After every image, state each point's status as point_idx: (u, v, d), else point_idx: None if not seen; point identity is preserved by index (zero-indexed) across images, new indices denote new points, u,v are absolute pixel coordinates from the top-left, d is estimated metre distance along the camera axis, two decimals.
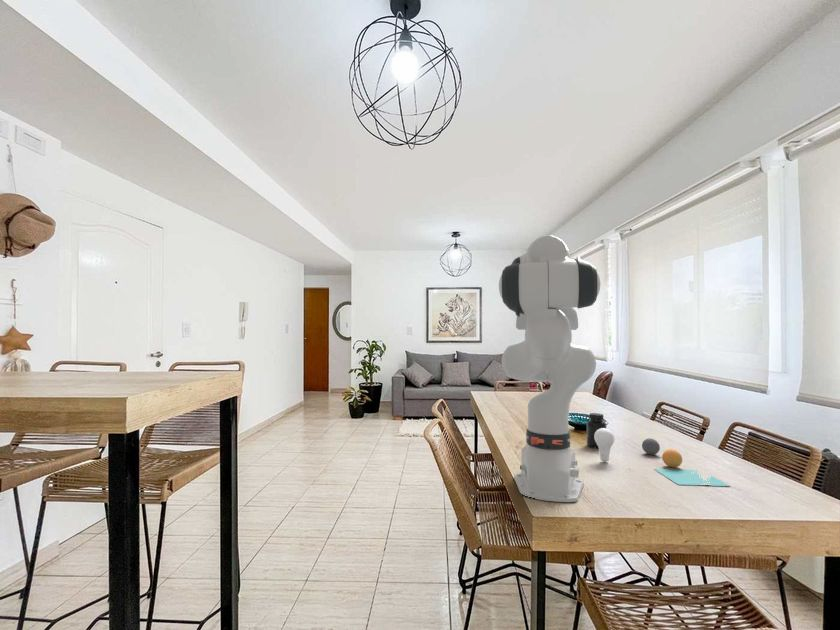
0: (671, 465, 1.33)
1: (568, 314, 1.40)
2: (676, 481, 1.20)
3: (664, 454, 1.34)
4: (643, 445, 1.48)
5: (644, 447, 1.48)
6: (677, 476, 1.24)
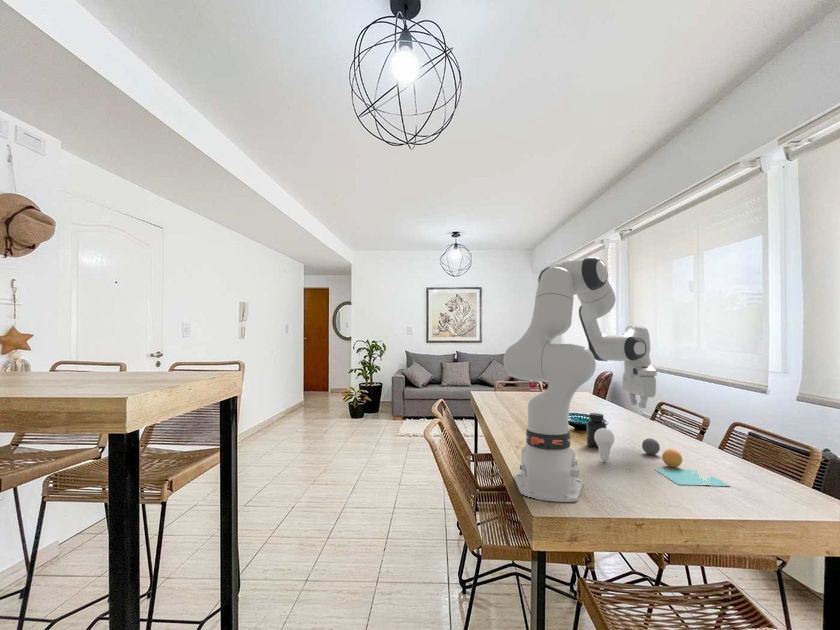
0: (671, 465, 1.33)
1: (641, 381, 1.52)
2: (676, 481, 1.20)
3: (664, 454, 1.34)
4: (643, 445, 1.48)
5: (644, 447, 1.48)
6: (677, 476, 1.24)
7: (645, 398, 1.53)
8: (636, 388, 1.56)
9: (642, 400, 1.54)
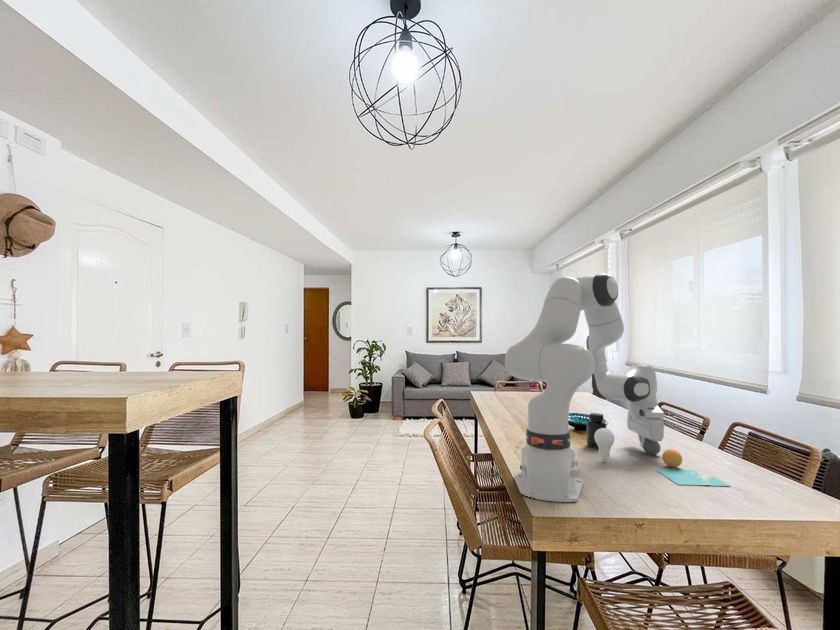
0: (671, 465, 1.33)
1: (648, 423, 1.46)
2: (676, 481, 1.20)
3: (664, 454, 1.34)
4: (644, 445, 1.48)
5: (645, 448, 1.48)
6: (677, 476, 1.24)
7: None
8: (642, 429, 1.50)
9: None
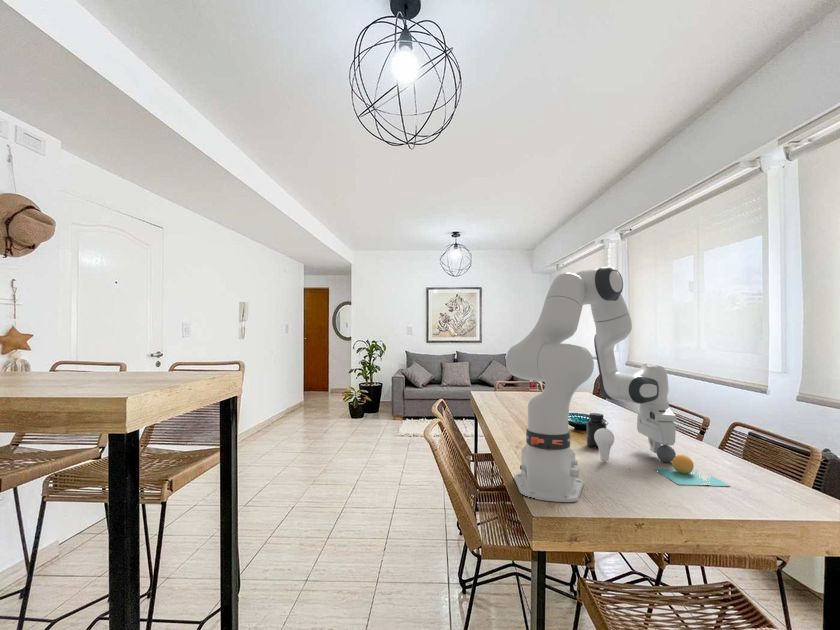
0: None
1: (659, 427, 1.39)
2: (676, 481, 1.20)
3: (675, 468, 1.27)
4: (657, 453, 1.40)
5: (656, 452, 1.40)
6: (677, 476, 1.24)
7: (659, 443, 1.43)
8: (652, 433, 1.43)
9: (656, 445, 1.44)
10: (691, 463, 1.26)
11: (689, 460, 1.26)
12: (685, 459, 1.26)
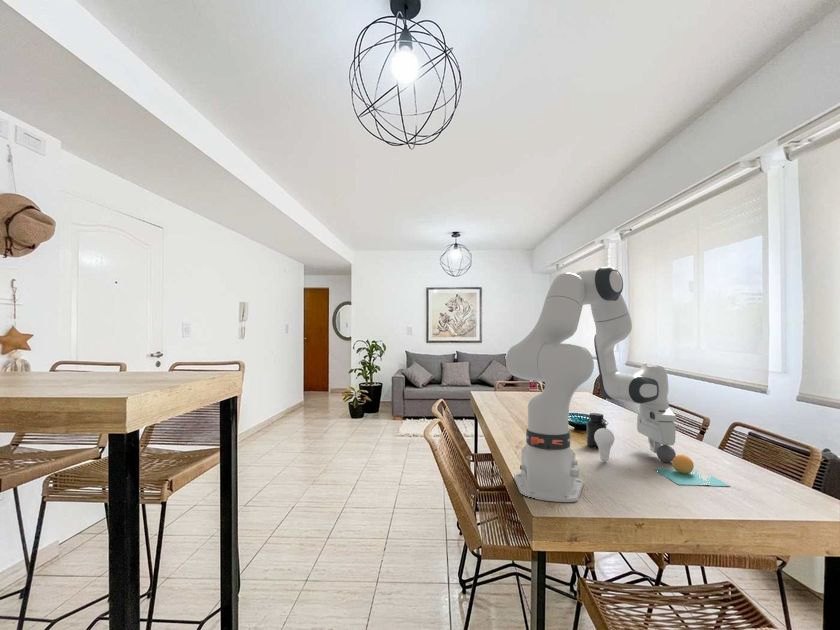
0: None
1: (659, 427, 1.39)
2: (676, 481, 1.20)
3: (675, 468, 1.27)
4: (657, 453, 1.40)
5: (656, 452, 1.40)
6: (677, 476, 1.24)
7: (659, 443, 1.43)
8: (652, 433, 1.43)
9: (656, 445, 1.44)
10: (691, 463, 1.26)
11: (689, 460, 1.26)
12: (685, 459, 1.26)
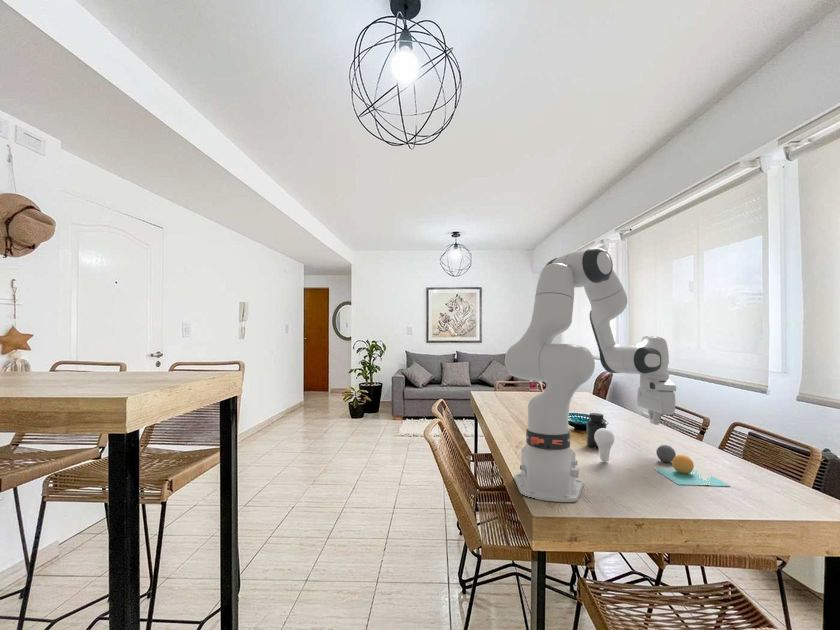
0: None
1: (659, 396, 1.39)
2: (676, 481, 1.20)
3: (675, 468, 1.27)
4: (657, 453, 1.40)
5: (656, 452, 1.40)
6: (677, 476, 1.24)
7: (659, 414, 1.43)
8: (652, 404, 1.43)
9: (655, 416, 1.43)
10: (691, 463, 1.26)
11: (689, 460, 1.26)
12: (685, 459, 1.26)
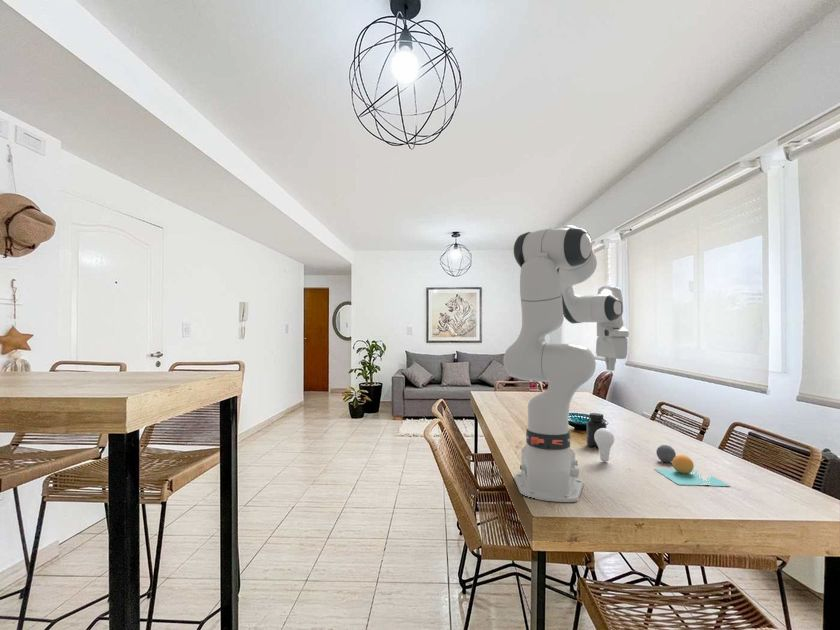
0: None
1: None
2: (676, 481, 1.20)
3: (675, 468, 1.27)
4: (657, 453, 1.40)
5: (656, 452, 1.40)
6: (677, 476, 1.24)
7: (613, 360, 1.49)
8: (607, 351, 1.49)
9: (611, 362, 1.50)
10: (691, 463, 1.26)
11: (689, 460, 1.26)
12: (685, 459, 1.26)
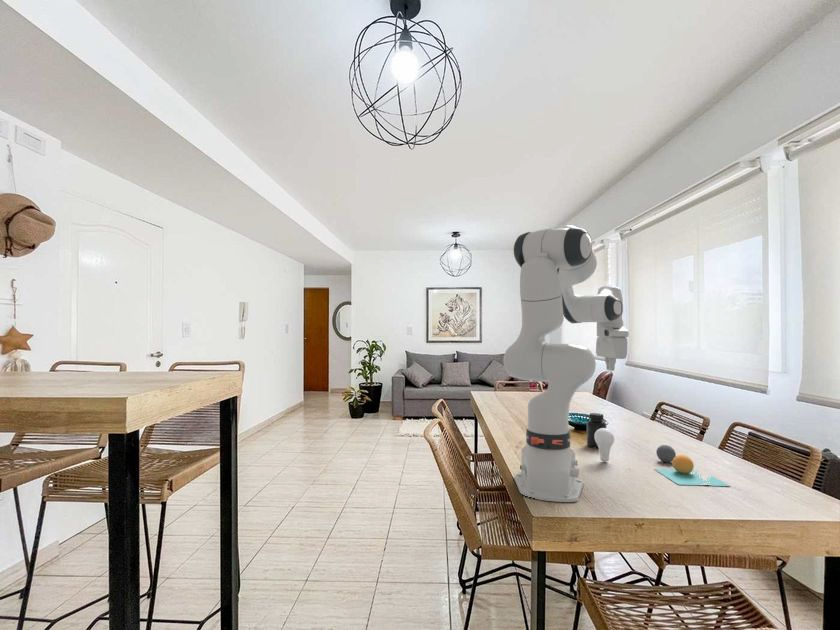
0: None
1: None
2: (676, 481, 1.20)
3: (675, 468, 1.27)
4: (657, 453, 1.40)
5: (656, 452, 1.40)
6: (677, 476, 1.24)
7: (613, 360, 1.49)
8: (607, 351, 1.49)
9: (611, 362, 1.50)
10: (691, 463, 1.26)
11: (689, 460, 1.26)
12: (685, 459, 1.26)
